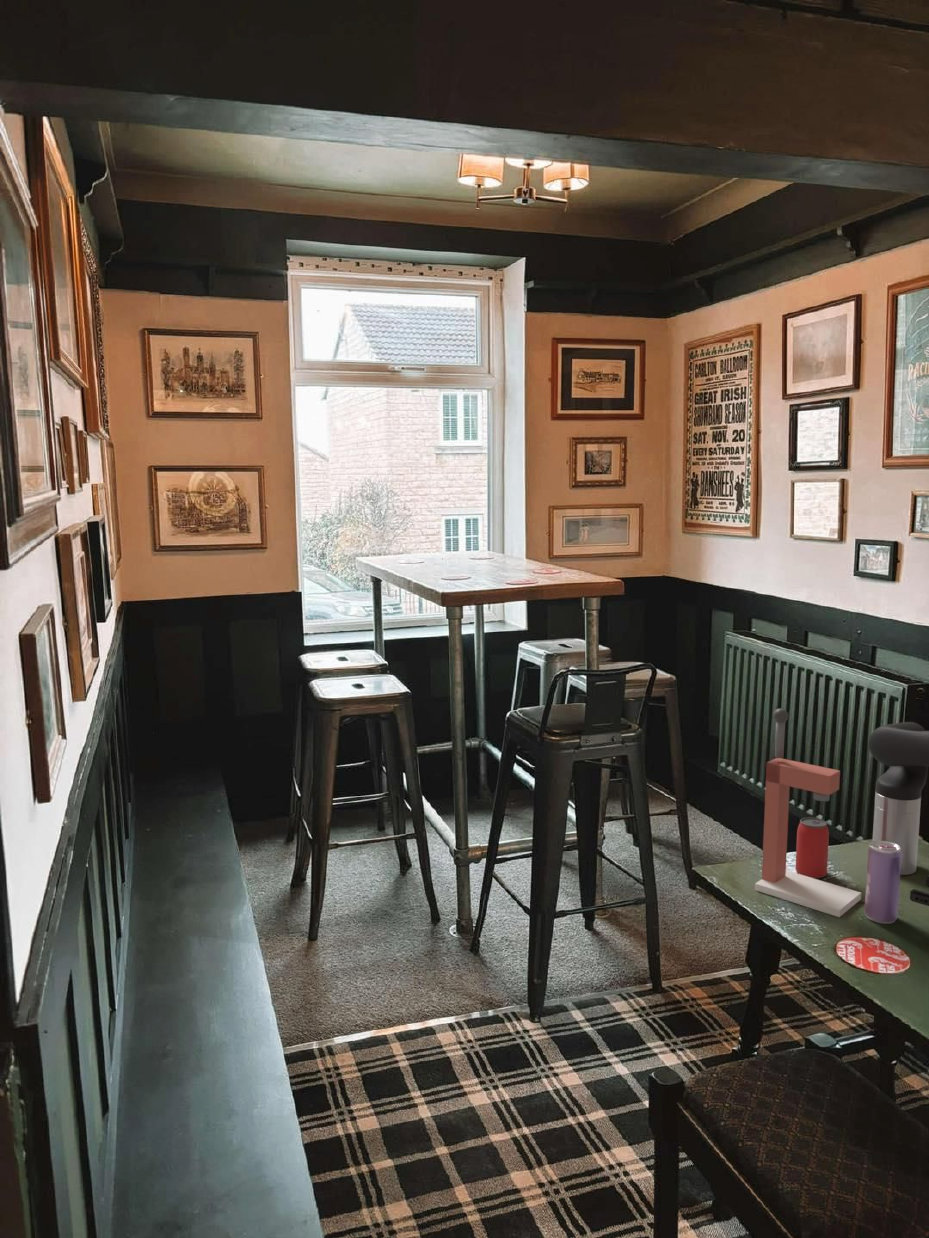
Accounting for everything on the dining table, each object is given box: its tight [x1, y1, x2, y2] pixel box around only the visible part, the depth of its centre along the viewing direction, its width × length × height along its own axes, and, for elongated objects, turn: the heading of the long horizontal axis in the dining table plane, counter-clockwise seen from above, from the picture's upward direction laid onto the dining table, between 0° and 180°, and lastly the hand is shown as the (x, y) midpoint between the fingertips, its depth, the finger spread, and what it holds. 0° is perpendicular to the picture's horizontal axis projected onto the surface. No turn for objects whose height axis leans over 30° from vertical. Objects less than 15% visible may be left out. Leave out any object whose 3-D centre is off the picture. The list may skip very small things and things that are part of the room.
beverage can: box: [864, 840, 901, 925], centre depth 179 cm, size 6×6×15 cm
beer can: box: [795, 817, 830, 879], centre depth 200 cm, size 7×7×12 cm
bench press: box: [754, 708, 862, 918], centre depth 188 cm, size 11×18×39 cm, turn 46°
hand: (918, 887), depth 175 cm, fingers open, 8 cm apart
